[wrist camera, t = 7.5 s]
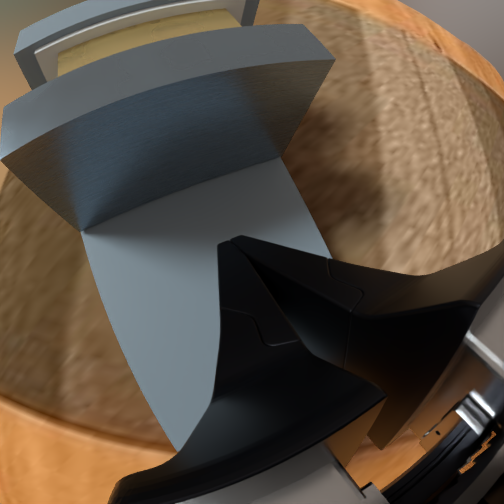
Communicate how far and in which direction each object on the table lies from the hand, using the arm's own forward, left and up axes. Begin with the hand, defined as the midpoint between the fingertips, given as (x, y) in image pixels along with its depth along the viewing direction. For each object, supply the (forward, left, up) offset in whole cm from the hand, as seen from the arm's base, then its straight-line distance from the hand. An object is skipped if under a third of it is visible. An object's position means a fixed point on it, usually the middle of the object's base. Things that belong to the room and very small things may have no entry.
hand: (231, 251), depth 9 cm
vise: (+1, +3, -7) cm, 8 cm away
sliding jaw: (+2, +6, -5) cm, 8 cm away
